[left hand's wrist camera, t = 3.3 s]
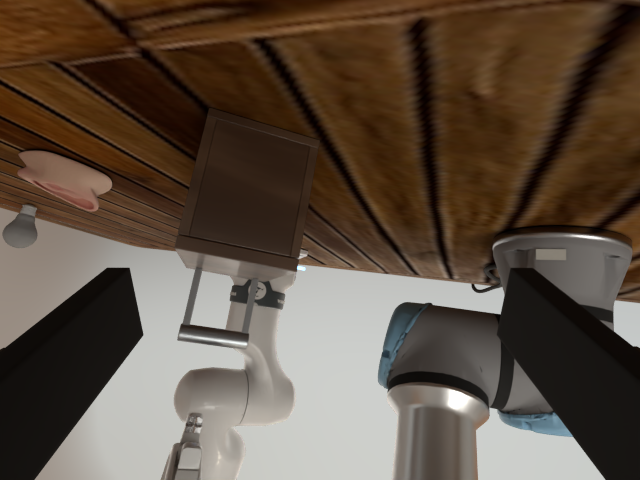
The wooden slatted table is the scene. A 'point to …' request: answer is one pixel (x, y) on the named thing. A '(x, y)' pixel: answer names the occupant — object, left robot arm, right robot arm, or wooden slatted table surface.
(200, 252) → the lid
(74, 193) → the anatomical model
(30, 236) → the light bulb
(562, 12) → the wooden slatted table surface
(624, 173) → the wooden slatted table surface
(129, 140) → the wooden slatted table surface
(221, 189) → the chest
